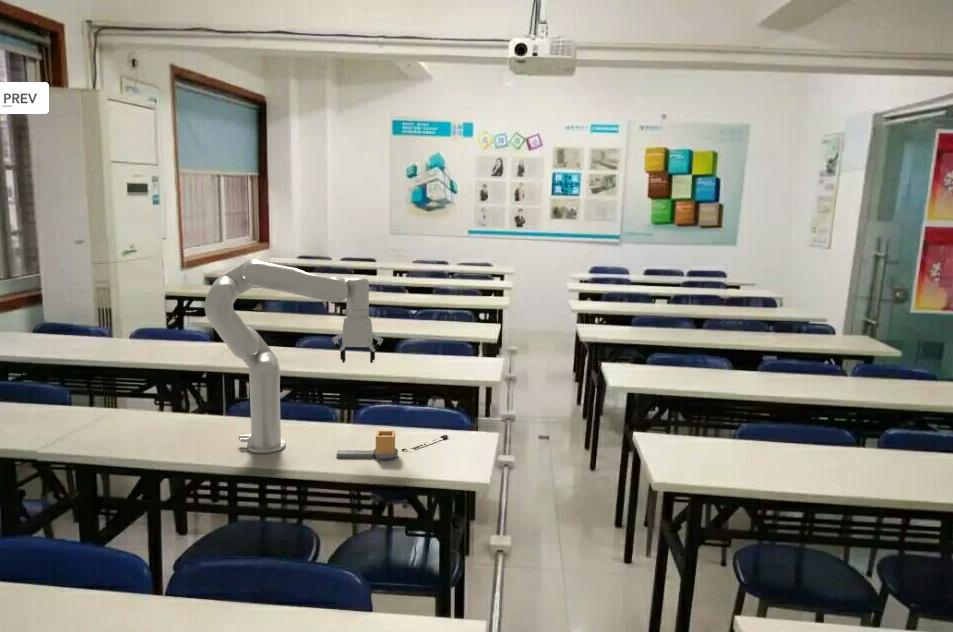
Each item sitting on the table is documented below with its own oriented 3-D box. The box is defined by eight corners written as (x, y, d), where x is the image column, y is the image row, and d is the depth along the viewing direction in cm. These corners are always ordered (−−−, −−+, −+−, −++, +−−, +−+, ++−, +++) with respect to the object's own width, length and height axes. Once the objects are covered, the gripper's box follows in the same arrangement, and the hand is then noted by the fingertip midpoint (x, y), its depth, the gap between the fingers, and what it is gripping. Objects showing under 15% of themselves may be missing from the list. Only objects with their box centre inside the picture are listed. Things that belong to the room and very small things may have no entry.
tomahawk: (413, 459, 224) (413, 456, 223) (400, 452, 228) (400, 449, 228) (457, 443, 239) (457, 440, 238) (444, 436, 243) (444, 433, 243)
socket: (375, 454, 219) (375, 436, 218) (377, 447, 225) (377, 430, 224) (394, 454, 219) (394, 436, 218) (395, 447, 225) (395, 430, 224)
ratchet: (335, 460, 217) (335, 440, 216) (338, 451, 225) (338, 432, 224) (397, 461, 219) (397, 440, 217) (398, 452, 226) (398, 432, 225)
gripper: (330, 314, 225) (331, 364, 228) (382, 315, 226) (381, 364, 229) (333, 311, 233) (334, 359, 236) (383, 312, 234) (383, 359, 237)
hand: (357, 361), depth 232 cm, fingers open, 9 cm apart
